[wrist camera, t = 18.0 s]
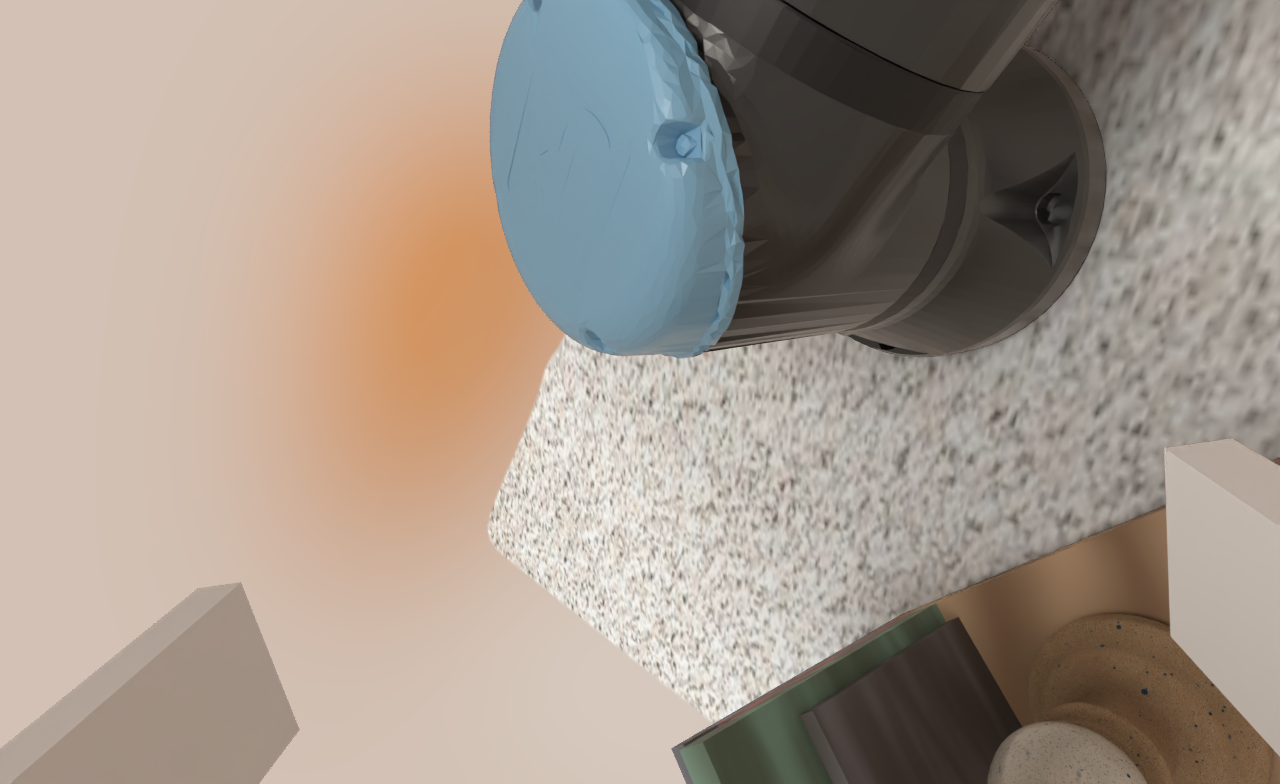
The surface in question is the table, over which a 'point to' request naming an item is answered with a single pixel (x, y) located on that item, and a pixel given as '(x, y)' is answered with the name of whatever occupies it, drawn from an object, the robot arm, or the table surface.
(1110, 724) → the candle holder
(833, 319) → the robot arm
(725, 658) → the table surface
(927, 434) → the table surface
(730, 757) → the wooden bookend
